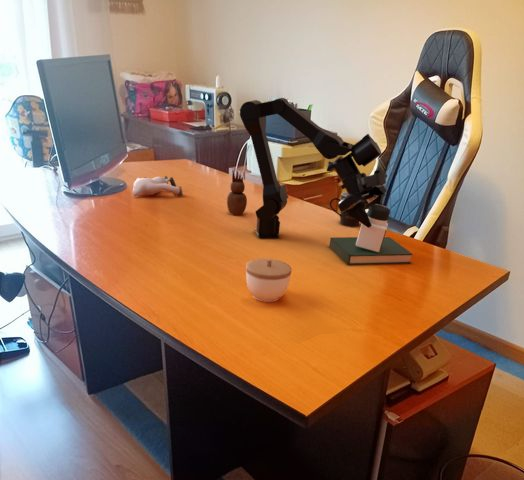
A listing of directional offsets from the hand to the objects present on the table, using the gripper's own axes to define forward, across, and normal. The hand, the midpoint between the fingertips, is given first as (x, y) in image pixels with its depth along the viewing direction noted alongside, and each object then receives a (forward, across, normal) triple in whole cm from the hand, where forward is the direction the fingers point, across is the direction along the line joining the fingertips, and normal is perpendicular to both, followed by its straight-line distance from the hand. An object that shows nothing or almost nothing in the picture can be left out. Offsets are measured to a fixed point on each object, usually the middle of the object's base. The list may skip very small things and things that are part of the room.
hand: (377, 223), depth 148 cm
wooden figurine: (-31, +2, +46) cm, 56 cm away
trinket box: (+4, -44, +11) cm, 46 cm away
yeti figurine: (-57, -3, +74) cm, 93 cm away
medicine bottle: (+4, 0, +6) cm, 7 cm away
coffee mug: (-9, +25, +24) cm, 36 cm away
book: (+6, +2, +9) cm, 11 cm away
